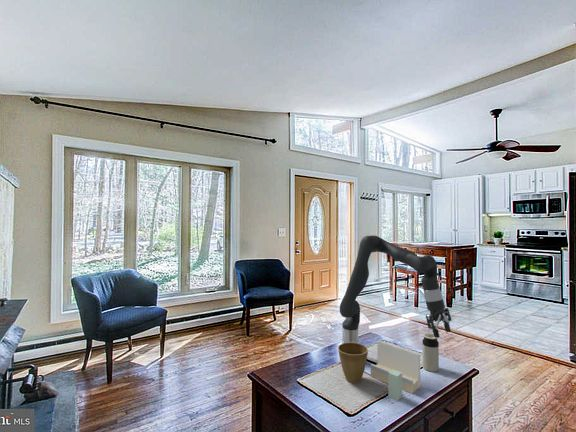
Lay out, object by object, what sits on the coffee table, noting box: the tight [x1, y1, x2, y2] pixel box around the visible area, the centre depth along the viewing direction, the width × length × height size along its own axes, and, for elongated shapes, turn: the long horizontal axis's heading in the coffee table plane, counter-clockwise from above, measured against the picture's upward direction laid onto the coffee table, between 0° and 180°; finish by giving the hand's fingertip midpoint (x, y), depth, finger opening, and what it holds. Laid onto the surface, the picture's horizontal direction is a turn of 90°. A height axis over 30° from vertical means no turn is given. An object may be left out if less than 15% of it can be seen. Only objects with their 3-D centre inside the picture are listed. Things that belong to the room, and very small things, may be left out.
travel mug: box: [422, 332, 440, 373], centre depth 169 cm, size 8×8×18 cm
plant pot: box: [337, 342, 369, 384], centre depth 159 cm, size 15×15×16 cm
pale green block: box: [387, 369, 403, 401], centre depth 144 cm, size 4×4×11 cm
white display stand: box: [370, 340, 421, 394], centre depth 157 cm, size 9×22×16 cm, turn 44°
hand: (442, 334), depth 142 cm, fingers open, 8 cm apart
